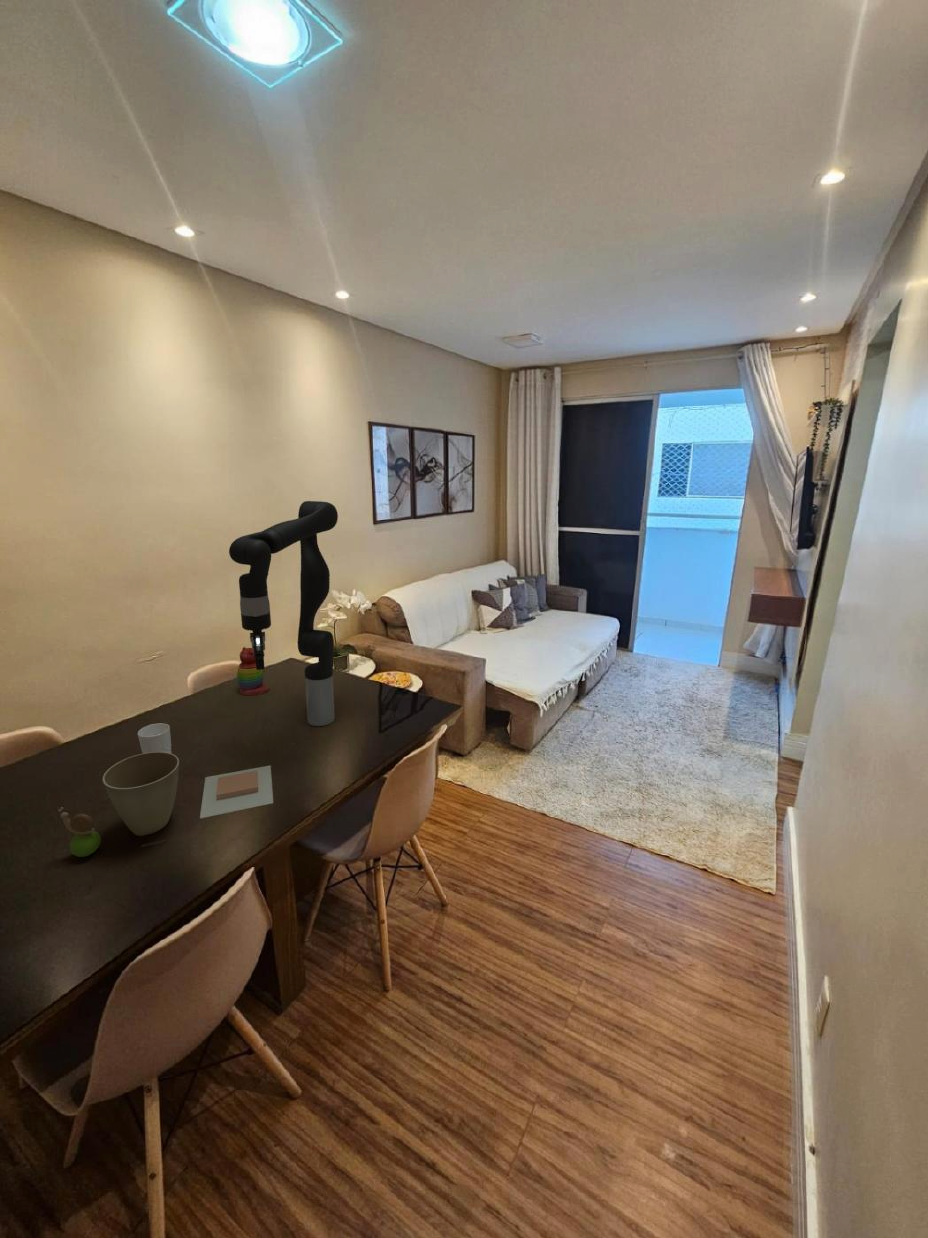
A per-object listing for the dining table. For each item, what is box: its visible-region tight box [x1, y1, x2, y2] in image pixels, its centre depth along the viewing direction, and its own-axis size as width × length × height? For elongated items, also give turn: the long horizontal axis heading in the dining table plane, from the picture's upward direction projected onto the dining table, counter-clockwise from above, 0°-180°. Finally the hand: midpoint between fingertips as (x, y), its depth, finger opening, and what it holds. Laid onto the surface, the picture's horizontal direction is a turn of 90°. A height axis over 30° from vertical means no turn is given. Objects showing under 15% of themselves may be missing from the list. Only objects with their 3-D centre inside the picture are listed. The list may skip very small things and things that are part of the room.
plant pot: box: [102, 752, 180, 837], centre depth 114 cm, size 15×15×16 cm
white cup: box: [137, 722, 172, 754], centre depth 141 cm, size 8×8×10 cm
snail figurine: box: [58, 806, 102, 858], centre depth 106 cm, size 5×6×12 cm
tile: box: [216, 771, 258, 800], centre depth 130 cm, size 2×10×8 cm
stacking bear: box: [236, 646, 270, 696], centre depth 187 cm, size 11×10×18 cm
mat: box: [199, 765, 274, 819], centre depth 130 cm, size 18×17×1 cm
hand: (260, 668), depth 138 cm, fingers closed
